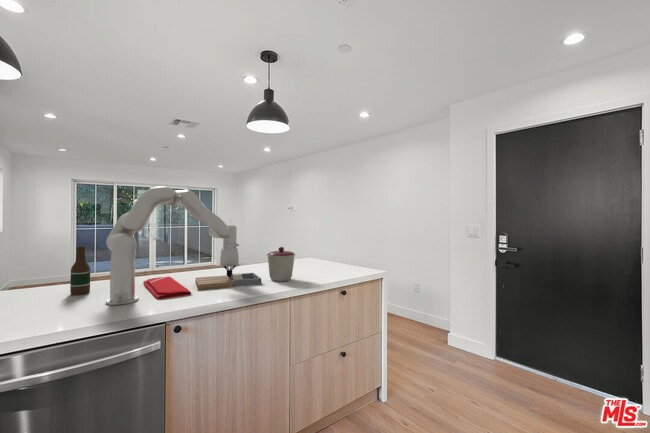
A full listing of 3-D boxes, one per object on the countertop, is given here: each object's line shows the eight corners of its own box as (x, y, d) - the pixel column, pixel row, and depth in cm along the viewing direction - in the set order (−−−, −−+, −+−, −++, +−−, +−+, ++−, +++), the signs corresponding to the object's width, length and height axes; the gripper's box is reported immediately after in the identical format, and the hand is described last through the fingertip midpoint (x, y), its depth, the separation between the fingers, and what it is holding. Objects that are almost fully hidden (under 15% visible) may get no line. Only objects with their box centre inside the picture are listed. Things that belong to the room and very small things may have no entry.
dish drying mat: (156, 301, 143) (157, 293, 143) (142, 285, 175) (142, 278, 175) (191, 295, 153) (191, 288, 153) (172, 281, 185) (172, 275, 185)
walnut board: (232, 287, 171) (232, 281, 171) (198, 290, 163) (198, 284, 163) (226, 280, 189) (226, 275, 189) (195, 282, 181) (195, 277, 181)
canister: (267, 283, 180) (267, 248, 180) (265, 277, 198) (266, 245, 198) (297, 282, 185) (297, 248, 185) (293, 276, 202) (293, 245, 202)
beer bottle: (78, 296, 148) (79, 247, 148) (66, 295, 150) (66, 246, 150) (93, 292, 156) (94, 245, 156) (81, 291, 157) (82, 245, 158)
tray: (261, 284, 179) (261, 278, 179) (233, 286, 171) (233, 280, 171) (253, 278, 196) (253, 272, 196) (227, 280, 189) (227, 274, 189)
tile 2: (243, 282, 181) (243, 278, 181) (234, 283, 179) (234, 278, 179) (241, 280, 185) (241, 276, 185) (232, 281, 183) (233, 277, 183)
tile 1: (241, 278, 180) (241, 274, 180) (232, 279, 178) (232, 274, 178) (240, 276, 185) (240, 272, 185) (231, 277, 183) (231, 273, 183)
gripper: (241, 245, 187) (240, 274, 187) (215, 245, 180) (215, 276, 180) (243, 246, 180) (243, 276, 180) (217, 247, 173) (217, 278, 173)
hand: (229, 276), depth 180 cm, fingers closed
